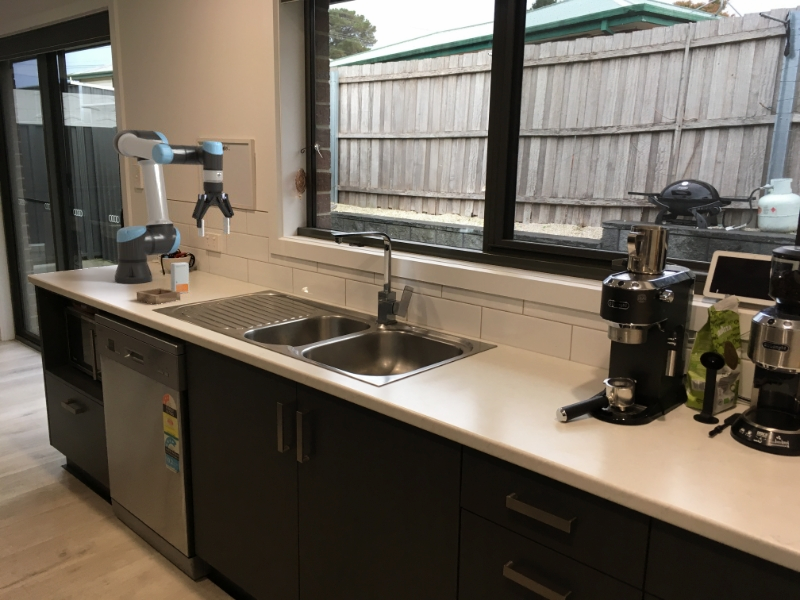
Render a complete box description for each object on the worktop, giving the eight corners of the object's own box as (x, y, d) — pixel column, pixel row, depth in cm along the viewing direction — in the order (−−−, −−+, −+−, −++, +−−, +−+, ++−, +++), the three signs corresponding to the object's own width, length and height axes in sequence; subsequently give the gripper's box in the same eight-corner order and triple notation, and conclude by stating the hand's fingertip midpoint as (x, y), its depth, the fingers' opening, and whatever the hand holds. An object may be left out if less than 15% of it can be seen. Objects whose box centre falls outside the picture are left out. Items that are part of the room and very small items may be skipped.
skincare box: (174, 294, 255) (173, 264, 253) (171, 292, 258) (169, 263, 256) (189, 292, 259) (188, 263, 256) (185, 290, 262) (184, 261, 260)
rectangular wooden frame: (137, 300, 241) (136, 292, 241) (161, 296, 250) (161, 287, 250) (155, 304, 236) (155, 296, 235) (180, 300, 245) (180, 291, 244)
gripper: (195, 182, 240) (196, 238, 245) (242, 181, 262) (242, 233, 266) (181, 181, 244) (183, 236, 249) (229, 180, 265) (229, 231, 270)
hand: (213, 234), depth 258 cm, fingers open, 13 cm apart
